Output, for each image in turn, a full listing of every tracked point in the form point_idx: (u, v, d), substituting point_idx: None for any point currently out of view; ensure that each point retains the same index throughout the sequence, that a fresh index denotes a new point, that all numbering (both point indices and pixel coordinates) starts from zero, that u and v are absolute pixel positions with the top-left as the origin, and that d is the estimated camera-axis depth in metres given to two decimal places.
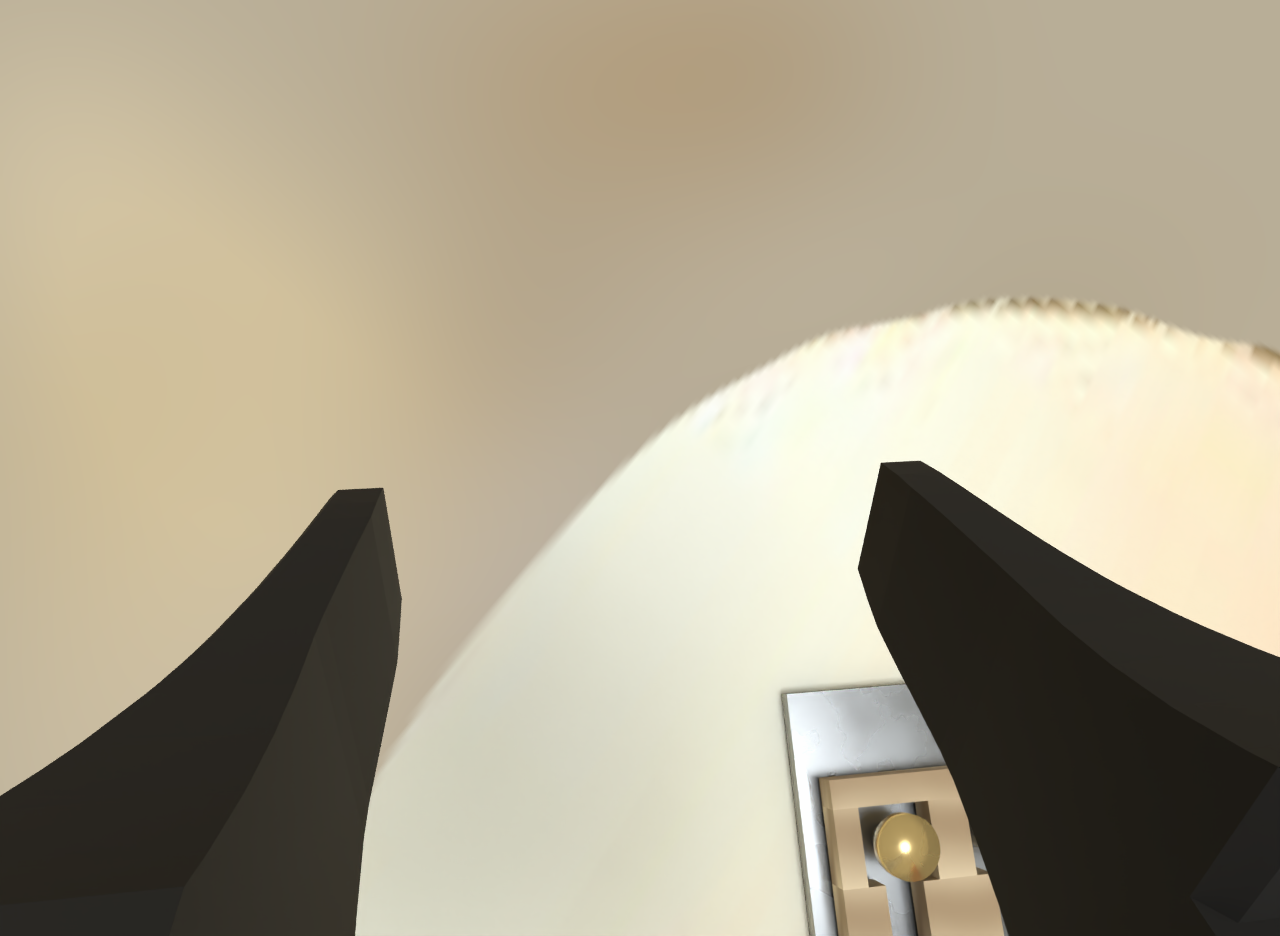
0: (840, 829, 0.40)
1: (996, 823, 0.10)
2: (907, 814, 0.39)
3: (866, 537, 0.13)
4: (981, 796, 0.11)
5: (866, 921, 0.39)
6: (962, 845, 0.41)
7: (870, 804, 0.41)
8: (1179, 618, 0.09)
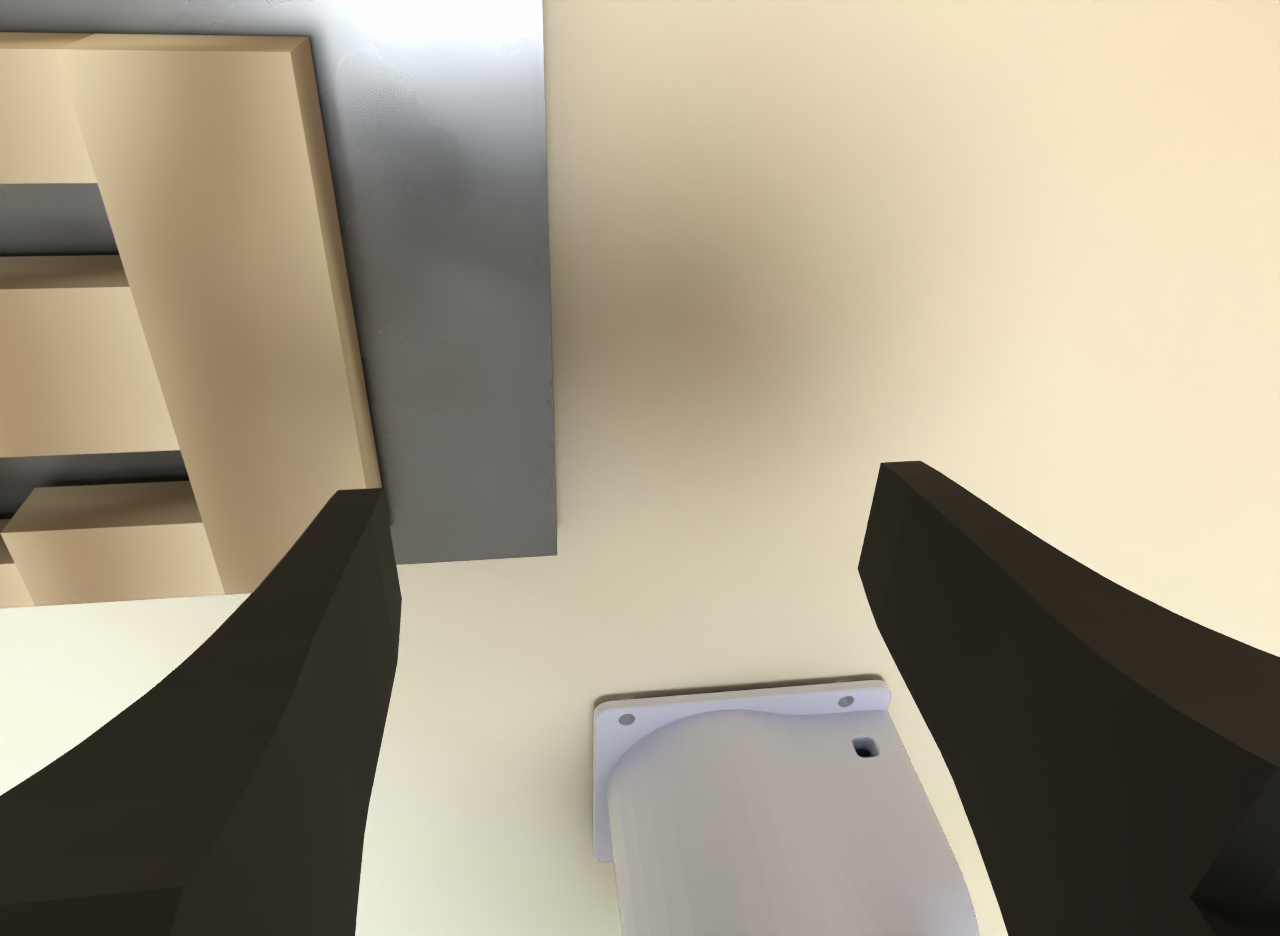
0: None
1: (996, 823, 0.10)
2: None
3: (866, 537, 0.13)
4: (981, 796, 0.11)
5: (90, 571, 0.19)
6: None
7: None
8: (1179, 618, 0.09)
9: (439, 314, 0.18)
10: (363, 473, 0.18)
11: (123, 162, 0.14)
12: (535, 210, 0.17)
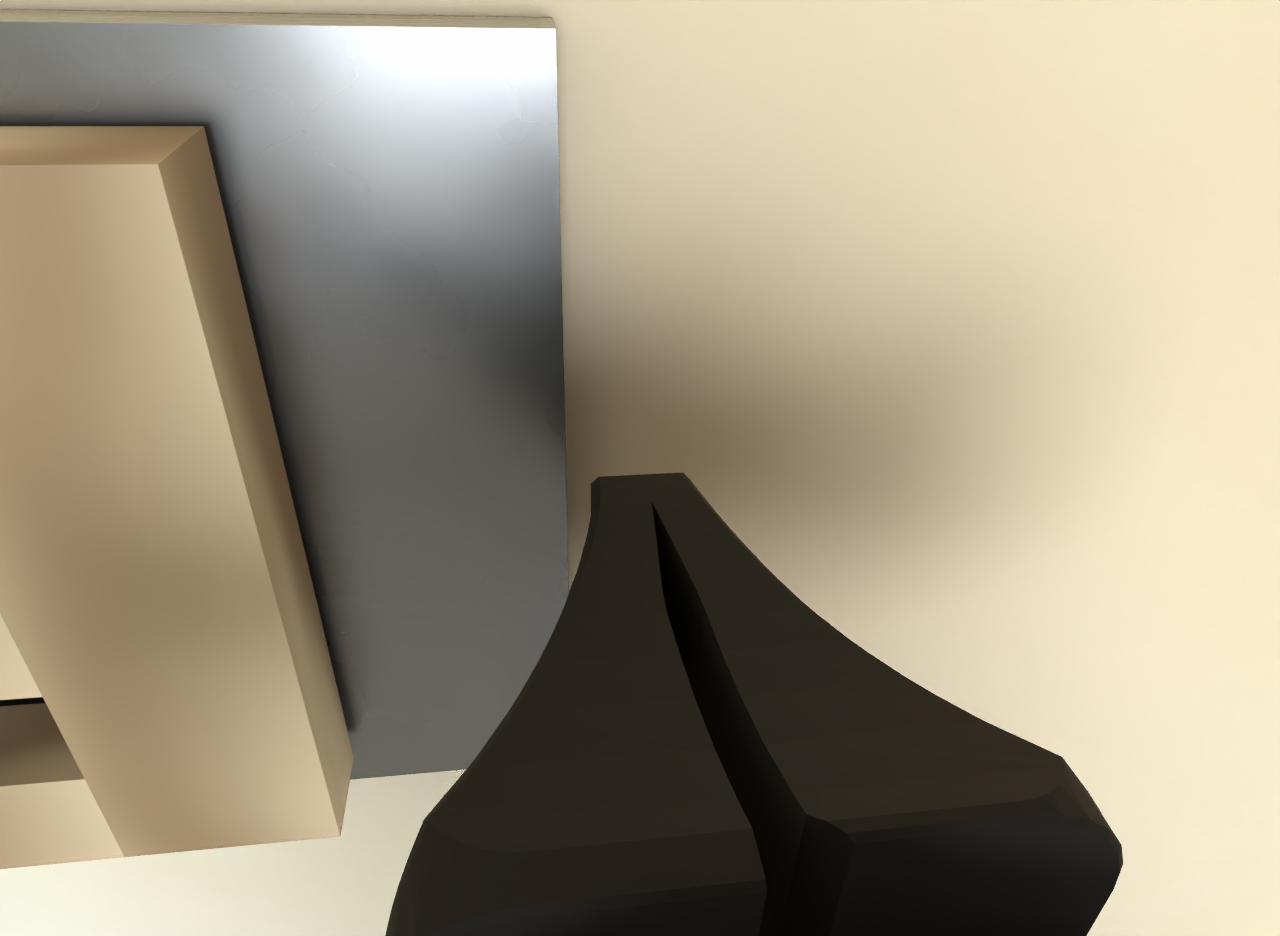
0: None
1: None
2: None
3: None
4: None
5: None
6: None
7: None
8: (848, 643, 0.08)
9: (412, 487, 0.13)
10: (306, 712, 0.13)
11: None
12: (545, 353, 0.12)
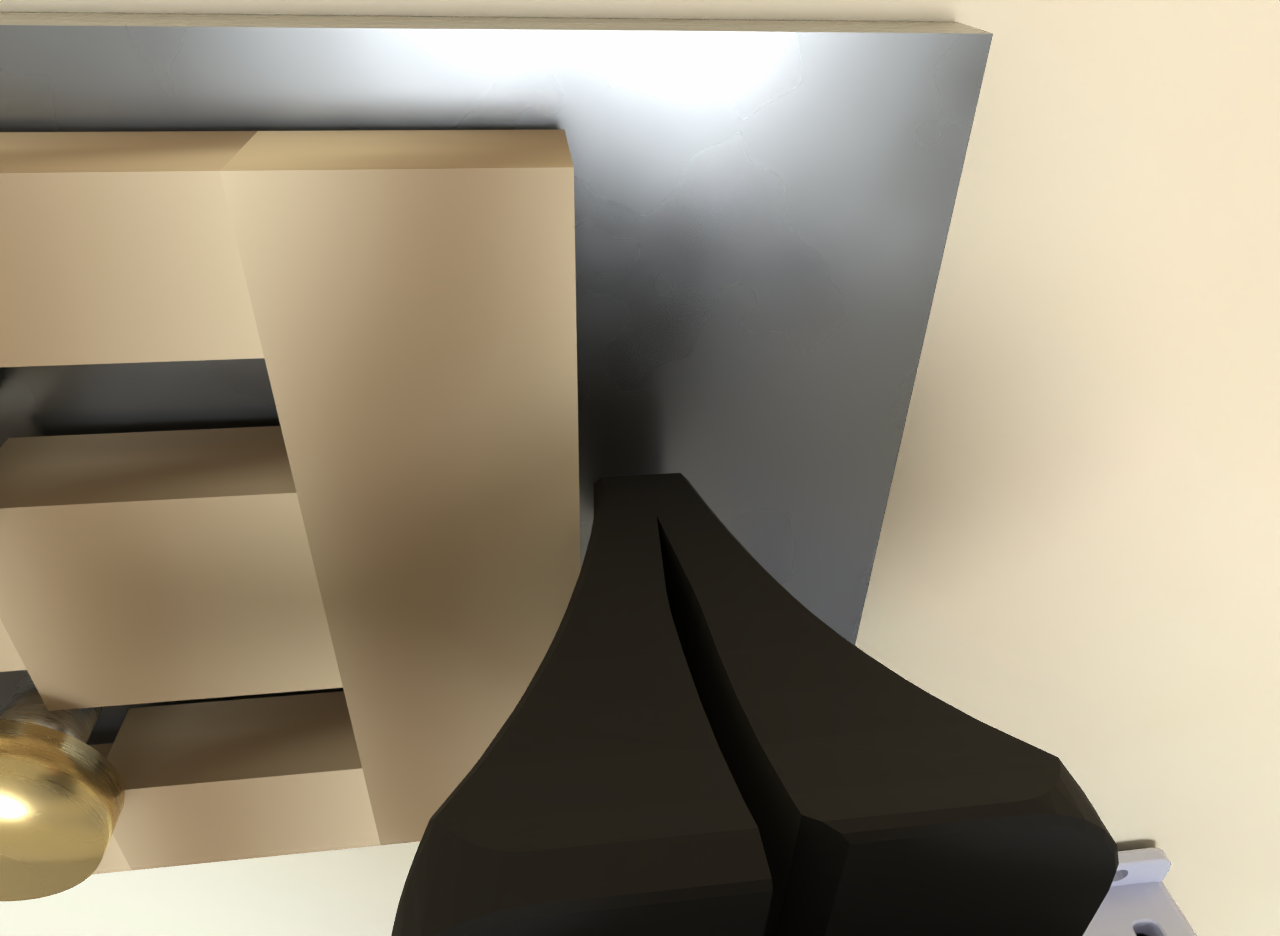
0: None
1: None
2: None
3: None
4: None
5: (207, 828, 0.14)
6: None
7: None
8: (845, 643, 0.08)
9: (751, 478, 0.14)
10: None
11: (305, 328, 0.09)
12: (905, 348, 0.13)
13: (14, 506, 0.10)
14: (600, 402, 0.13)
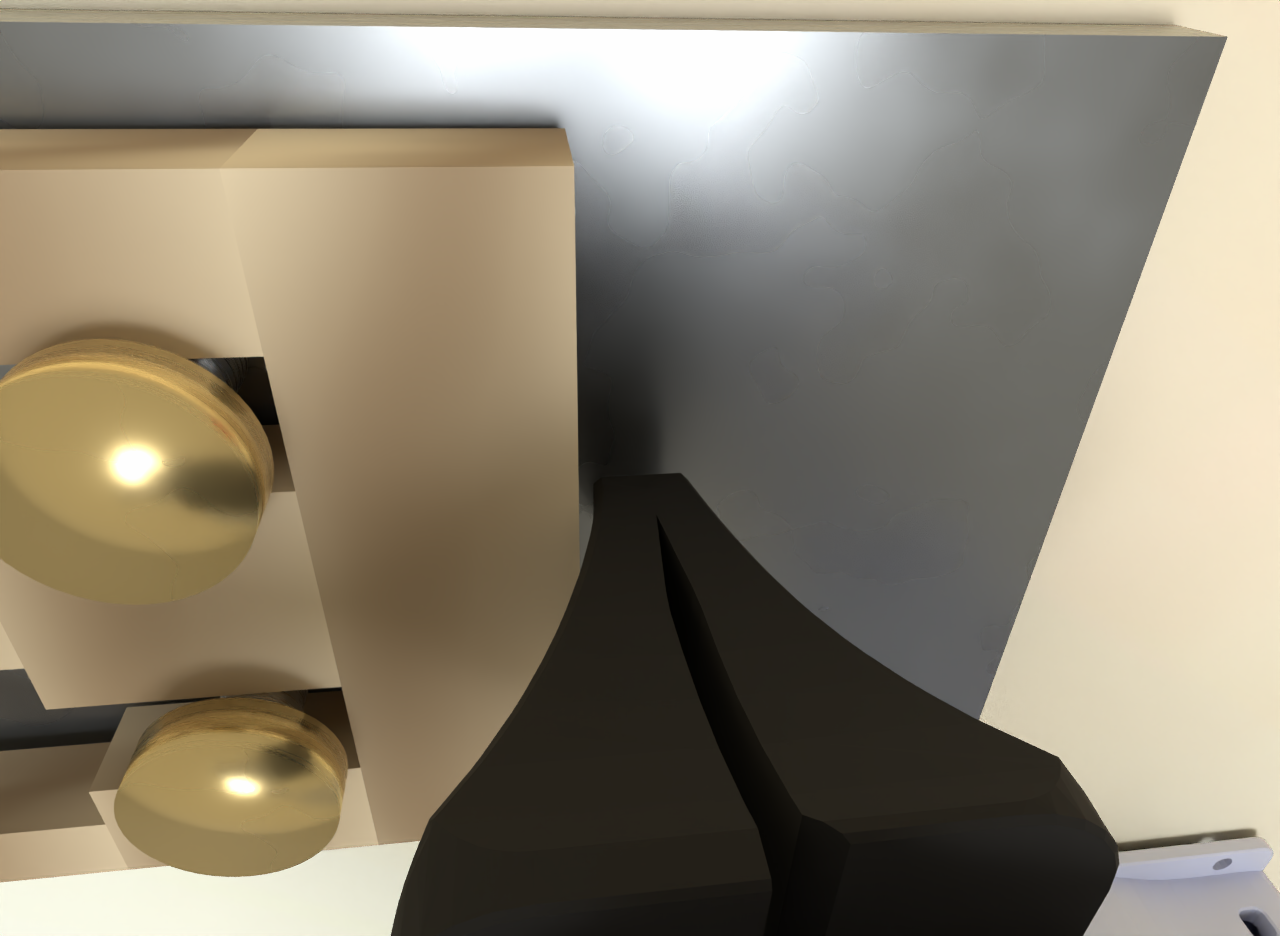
0: None
1: None
2: None
3: None
4: None
5: None
6: None
7: None
8: (845, 643, 0.08)
9: (937, 468, 0.14)
10: None
11: (304, 327, 0.09)
12: (1101, 341, 0.13)
13: None
14: (807, 393, 0.13)
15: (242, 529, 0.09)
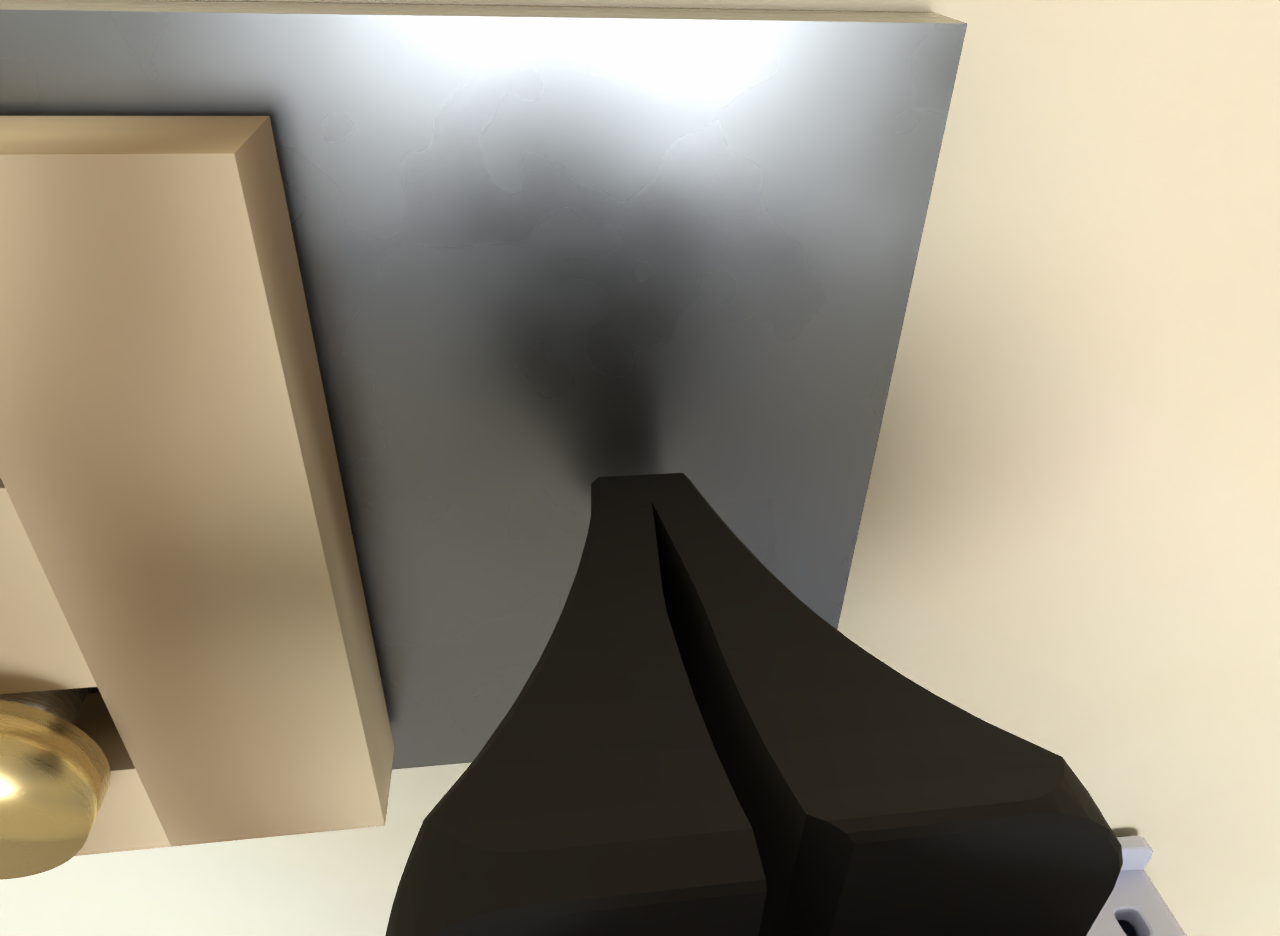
0: None
1: None
2: None
3: None
4: None
5: None
6: None
7: None
8: (848, 643, 0.08)
9: (732, 464, 0.14)
10: (357, 702, 0.13)
11: None
12: (884, 335, 0.13)
13: None
14: (582, 388, 0.13)
15: None
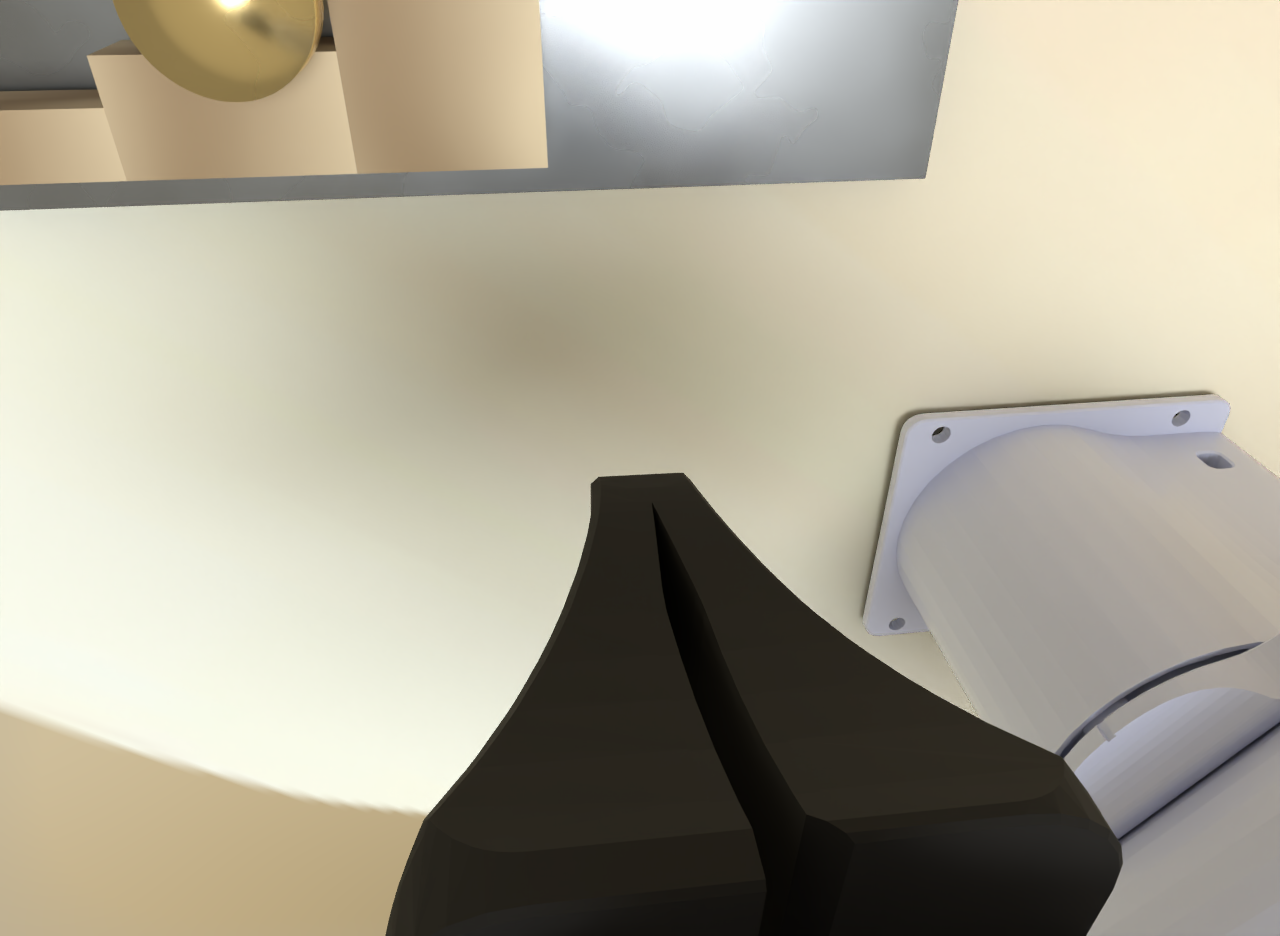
0: None
1: None
2: None
3: None
4: None
5: (195, 125, 0.15)
6: None
7: None
8: (848, 643, 0.08)
9: None
10: None
11: None
12: None
13: None
14: None
15: None
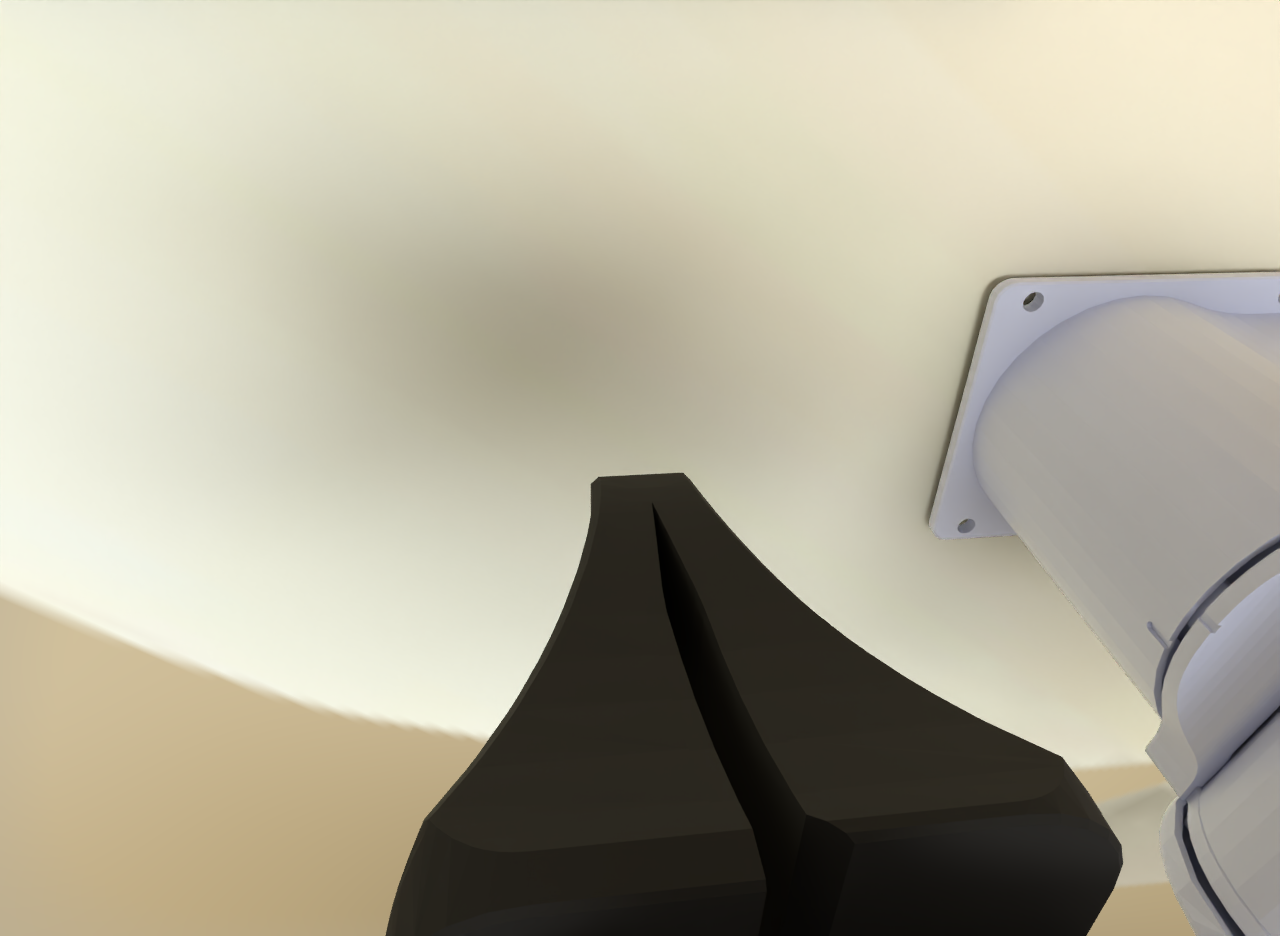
0: None
1: None
2: None
3: None
4: None
5: None
6: None
7: None
8: (848, 643, 0.08)
9: None
10: None
11: None
12: None
13: None
14: None
15: None
